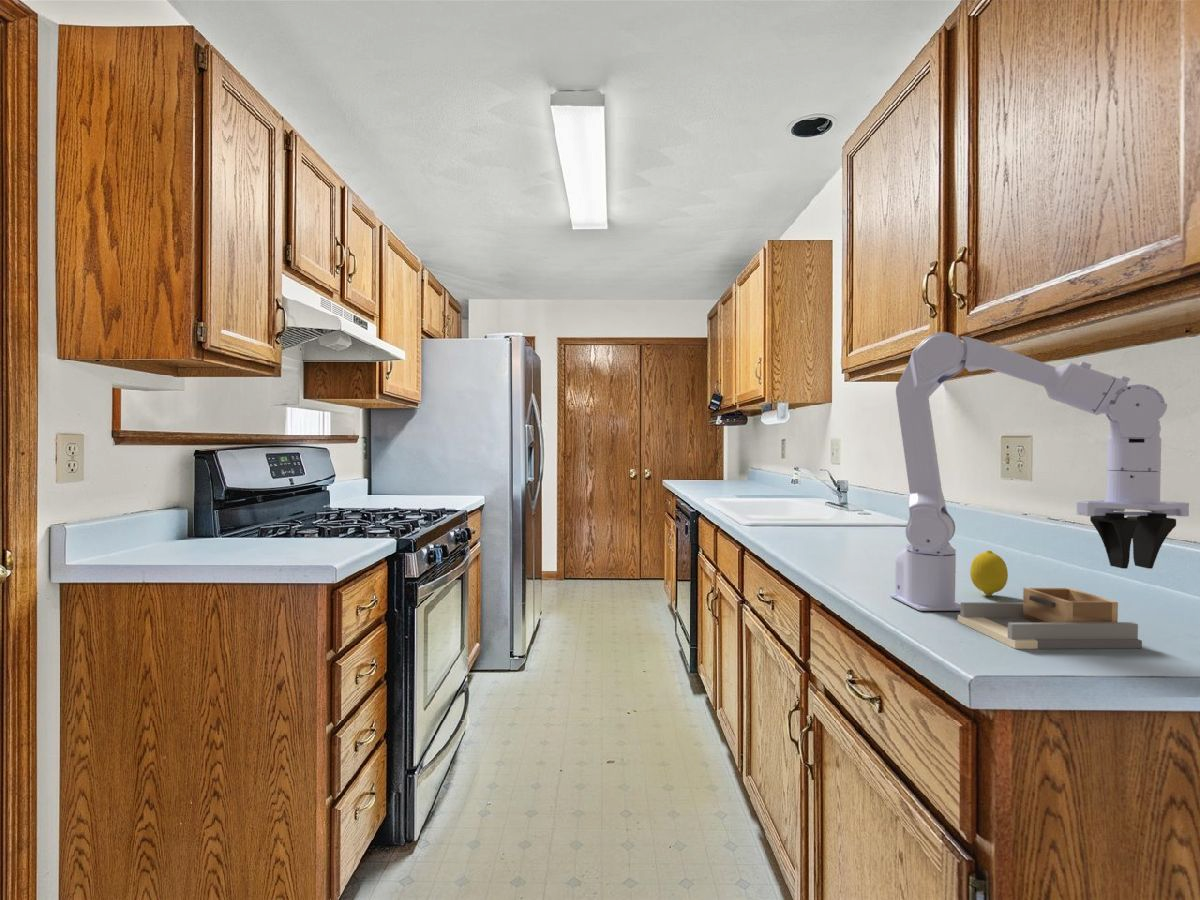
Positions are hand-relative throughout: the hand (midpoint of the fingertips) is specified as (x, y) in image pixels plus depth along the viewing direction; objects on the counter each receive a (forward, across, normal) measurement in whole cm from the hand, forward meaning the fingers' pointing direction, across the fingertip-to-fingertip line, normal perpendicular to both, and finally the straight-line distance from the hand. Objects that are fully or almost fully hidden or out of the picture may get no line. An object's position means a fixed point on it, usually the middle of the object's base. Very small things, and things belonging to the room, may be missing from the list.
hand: (1131, 567), depth 85 cm
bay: (+9, -12, 0) cm, 16 cm away
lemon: (+10, -6, +21) cm, 24 cm away
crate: (+8, -9, 0) cm, 12 cm away
